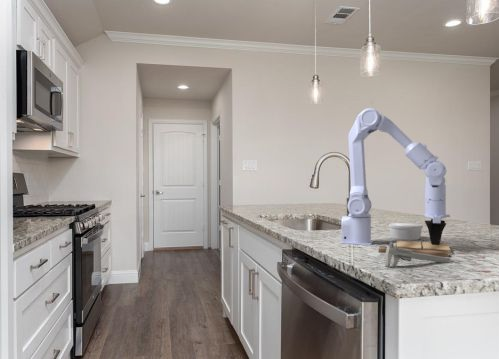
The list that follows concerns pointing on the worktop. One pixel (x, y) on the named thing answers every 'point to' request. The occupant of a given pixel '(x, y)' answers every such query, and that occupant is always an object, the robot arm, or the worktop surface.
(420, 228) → the ramekin
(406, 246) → the left plank
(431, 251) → the floor panel
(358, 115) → the robot arm
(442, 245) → the right plank
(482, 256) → the worktop surface
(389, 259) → the caliper
